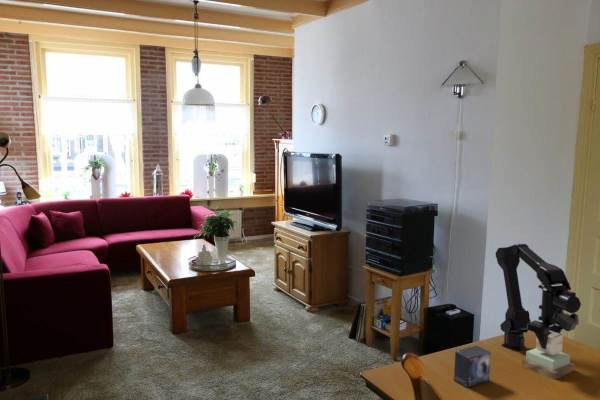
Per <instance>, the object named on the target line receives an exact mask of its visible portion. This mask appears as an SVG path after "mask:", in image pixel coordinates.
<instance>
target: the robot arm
mask: <svg viewBox="0 0 600 400" xmlns="http://www.w3.org/2000/svg"><path fill="white" fill-rule="evenodd" d="M495 258H496V262H497V264H498V265H499V267H500V268H501V270H502V271H503V272H502V273H503V278H504V286H505V291H506V299H507V306H508V307H507V310H506V311H505V316H504V317H505V319H504V321H503V322H502V323H500V325H499V327H500V330H501V332H503V333H504V335H503V343H501V346H502V347H504V348H508V349H509V350H513V351H515V352H516V351H519V350H522V349H525V348H527V347H526V345H525V339H526V338H525V336H524V335H525V333H526V334H527V333H528V332H529V331H530V332H533V333H534V334H535V336H537V338H538V340H539V343H540V345H541V347H542V348H543V349H546V345H547V339H548V335H550V334H551V333H552V332H549V331H553V332H556V333H559V334H562V333H561V332H562V331H566V332H570V331H574V330H575V328H576V326H577V325H579V324H580V323H579V315H578V314H576V313H577V312H578V311H579V310H580V309H581V305H582V304H581V303H582V302H581V300H580V298H579V297H577V295H576V292H575V291H571V290H572V288H571V285H570V284H571V283H570V282H569V281H568V278H567V276H566V274H565V272H564V270H563V269H562V268H560V267H559V266H557V265H554V264H551V263H548V262H546V261H545V260H544V259H543V258H542V257H540V256H539V255H538V254H537V253H536V252H535V251H533V250H532V249H531V248H530V247H529V245H528V244H526V243H516V244H515V243H514V244H513V245H510V246H507V247H506V246H505V247H504V246H503V247H498V248H497V250H496V252H495ZM520 259H521V260H522V261H523V262H524V263H525V264H526V265H527V266H528V267H530V268H531V269H532V270H533V271H534V272H535V274H536V278H537V279H538V281H540V283H541V284H539V285H538V286H537V287H538V289H541V290H542V291H541V304H540V305H538V309H540V310H541V312H540V316H538V320H536V319H535V320H531V318H530V312H529V310H526V309H525V308H524V306H523V302H522V296H521V290H520V289H521V288H520V283H519V275H518V267H519V264H520V263H521V262H520V261H521V260H520ZM564 311H565V312H567V313H565V312H564Z"/></svg>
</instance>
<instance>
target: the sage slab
mask: <svg viewBox="0 0 600 400" xmlns="http://www.w3.org/2000/svg"><path fill="white" fill-rule="evenodd" d="M525 359H526V360H528V361H531V362H533V363H536V364H538V365H541V366H543V367H545V368H548V369H550V370H555V369H557V368H560V367H563V366H565V365H568V364H570V363H571V355H570V354H568V353H564V352H563V351H561V352H559V353H556V354H554V355H551V354H548V353H545V352H542V351H540V350H537V349H536V347H535V348H532V349H530V350H526V352H525Z"/></svg>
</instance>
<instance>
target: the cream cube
mask: <svg viewBox="0 0 600 400" xmlns="http://www.w3.org/2000/svg"><path fill="white" fill-rule="evenodd" d="M549 332H552V333H551V334H550V335H548V339H547V345H546V349H543V348H542V347H541V345H540V343H539V340H538V338H537V336H536V335H535V336H536V337H535V338H536V339H535V348H536V349H537V350H540V351H542V352H545V353H548V354H551V355H554V354H556V353H559V352H563V339H564V338H563V336H564V334H562V333H560V334H559V333H556V332H553V331H549Z"/></svg>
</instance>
